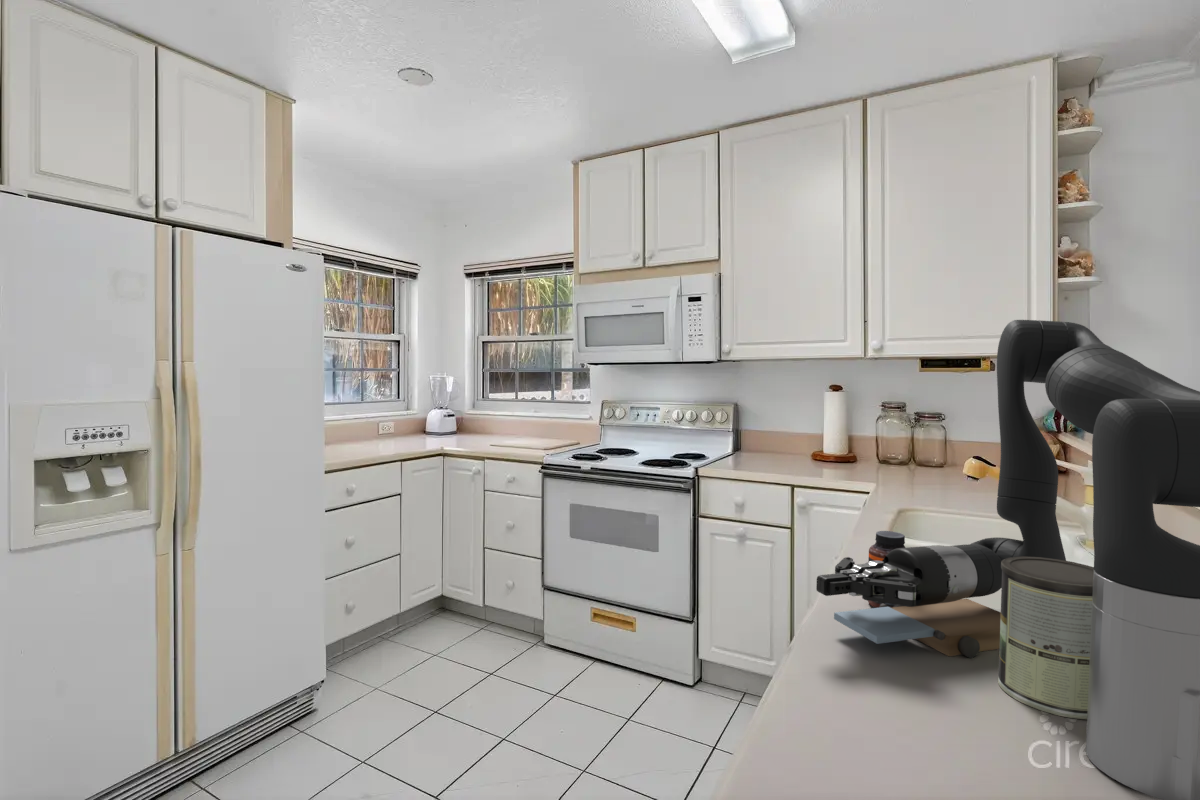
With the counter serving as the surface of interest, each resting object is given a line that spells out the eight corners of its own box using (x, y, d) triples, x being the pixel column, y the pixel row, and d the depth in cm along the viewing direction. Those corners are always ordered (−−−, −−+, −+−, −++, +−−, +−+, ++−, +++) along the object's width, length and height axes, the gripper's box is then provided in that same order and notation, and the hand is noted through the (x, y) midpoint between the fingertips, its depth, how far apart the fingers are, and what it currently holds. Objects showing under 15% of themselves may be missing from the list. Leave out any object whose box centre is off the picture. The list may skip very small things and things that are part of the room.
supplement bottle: (873, 596, 98) (875, 526, 97) (914, 605, 94) (916, 533, 93) (862, 607, 93) (864, 533, 92) (904, 617, 89) (907, 540, 89)
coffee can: (978, 669, 73) (982, 553, 73) (1070, 675, 72) (1075, 557, 72) (1030, 717, 63) (1036, 582, 62) (1138, 724, 62) (1144, 587, 61)
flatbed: (1039, 647, 80) (1040, 624, 79) (948, 661, 75) (949, 637, 75) (959, 612, 91) (960, 592, 91) (876, 623, 87) (876, 602, 87)
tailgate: (934, 629, 78) (877, 636, 75) (934, 639, 78) (876, 647, 75) (888, 606, 85) (834, 612, 83) (887, 615, 85) (833, 621, 83)
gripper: (892, 534, 88) (789, 542, 83) (973, 561, 76) (857, 572, 70) (891, 585, 88) (788, 596, 83) (970, 620, 76) (855, 636, 71)
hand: (820, 585), depth 77 cm, fingers closed
